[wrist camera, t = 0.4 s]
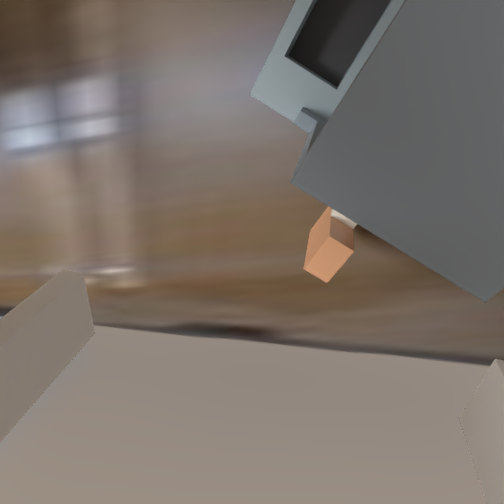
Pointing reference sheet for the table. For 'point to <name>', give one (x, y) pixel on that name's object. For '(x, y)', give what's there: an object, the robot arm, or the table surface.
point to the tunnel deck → (402, 124)
